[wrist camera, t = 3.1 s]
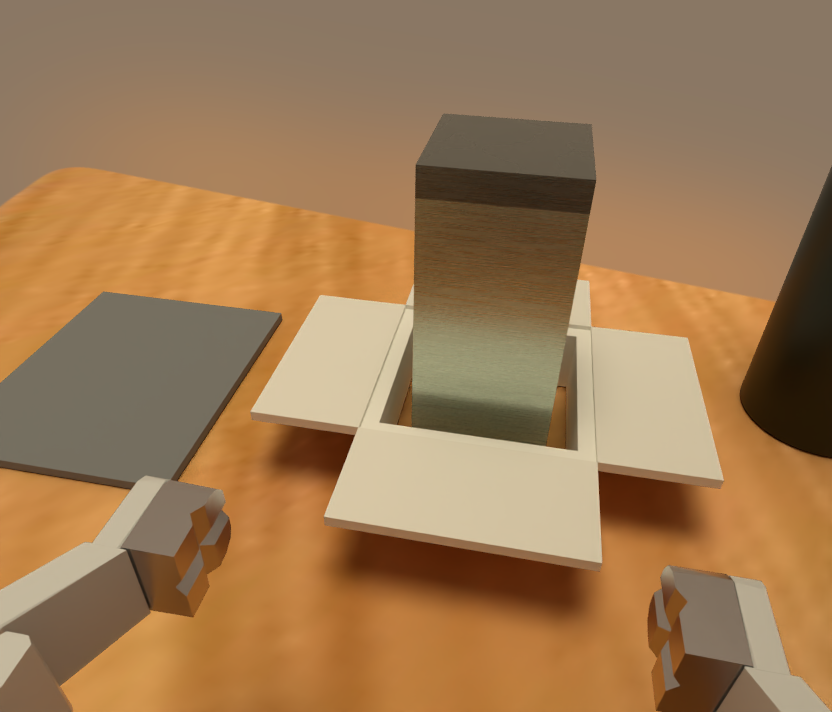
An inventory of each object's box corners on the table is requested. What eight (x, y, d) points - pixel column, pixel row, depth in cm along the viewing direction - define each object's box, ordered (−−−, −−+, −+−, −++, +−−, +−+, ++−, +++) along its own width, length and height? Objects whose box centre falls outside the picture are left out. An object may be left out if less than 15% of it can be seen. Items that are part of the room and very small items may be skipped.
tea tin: (543, 398, 29) (591, 124, 21) (539, 481, 25) (596, 179, 18) (432, 383, 29) (443, 113, 22) (411, 462, 25) (416, 164, 18)
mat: (282, 319, 33) (281, 313, 33) (167, 495, 24) (165, 487, 24) (105, 297, 35) (103, 291, 34) (-69, 455, 25) (-74, 447, 25)
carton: (660, 342, 32) (675, 290, 30) (719, 646, 19) (751, 588, 18) (347, 304, 35) (344, 254, 33) (216, 555, 22) (199, 495, 20)
